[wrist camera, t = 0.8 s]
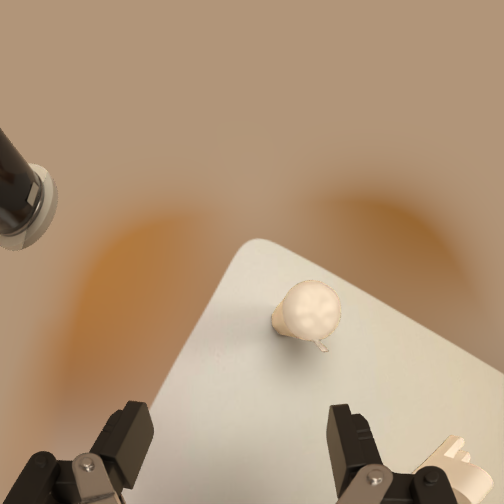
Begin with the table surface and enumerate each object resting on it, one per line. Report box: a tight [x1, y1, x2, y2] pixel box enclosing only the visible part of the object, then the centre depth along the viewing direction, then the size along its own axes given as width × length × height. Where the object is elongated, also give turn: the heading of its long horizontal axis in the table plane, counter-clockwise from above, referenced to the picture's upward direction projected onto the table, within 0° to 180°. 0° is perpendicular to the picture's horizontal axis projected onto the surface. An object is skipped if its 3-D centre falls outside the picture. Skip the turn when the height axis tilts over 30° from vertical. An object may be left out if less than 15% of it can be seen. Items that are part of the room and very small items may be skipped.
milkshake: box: [271, 280, 341, 352], centre depth 26 cm, size 4×5×10 cm
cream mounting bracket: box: [412, 435, 494, 504], centre depth 22 cm, size 5×10×10 cm, turn 122°
